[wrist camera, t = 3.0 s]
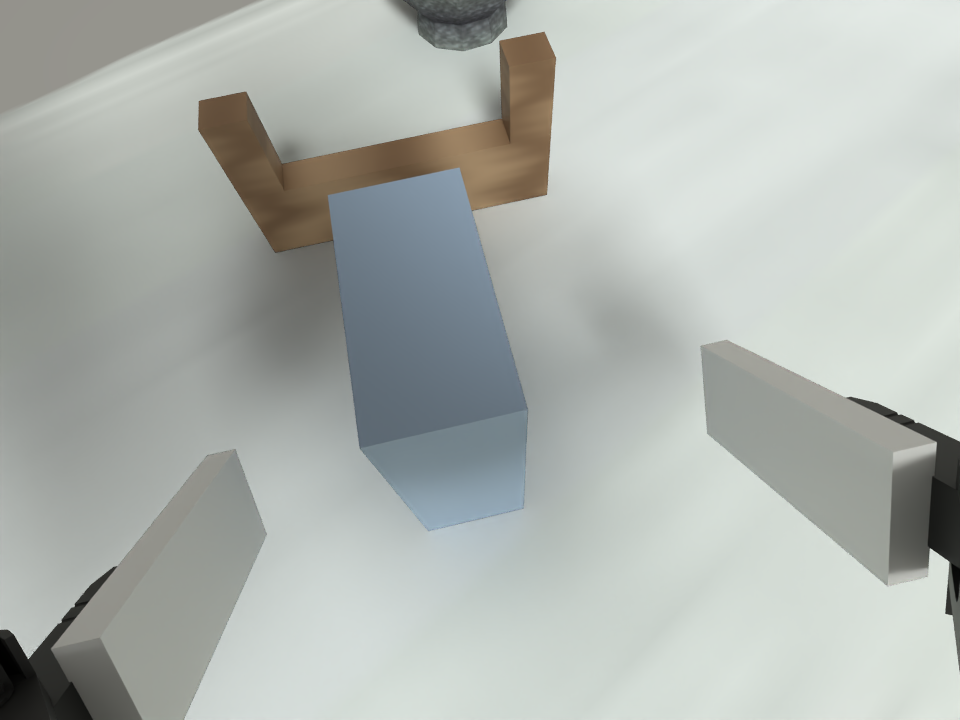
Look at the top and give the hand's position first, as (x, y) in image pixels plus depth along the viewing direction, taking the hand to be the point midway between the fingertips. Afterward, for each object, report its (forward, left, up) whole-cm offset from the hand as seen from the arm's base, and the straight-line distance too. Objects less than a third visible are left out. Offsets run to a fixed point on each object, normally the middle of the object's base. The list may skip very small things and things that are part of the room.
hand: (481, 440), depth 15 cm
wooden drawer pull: (-1, +17, -8) cm, 19 cm away
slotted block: (-1, +4, -8) cm, 9 cm away
